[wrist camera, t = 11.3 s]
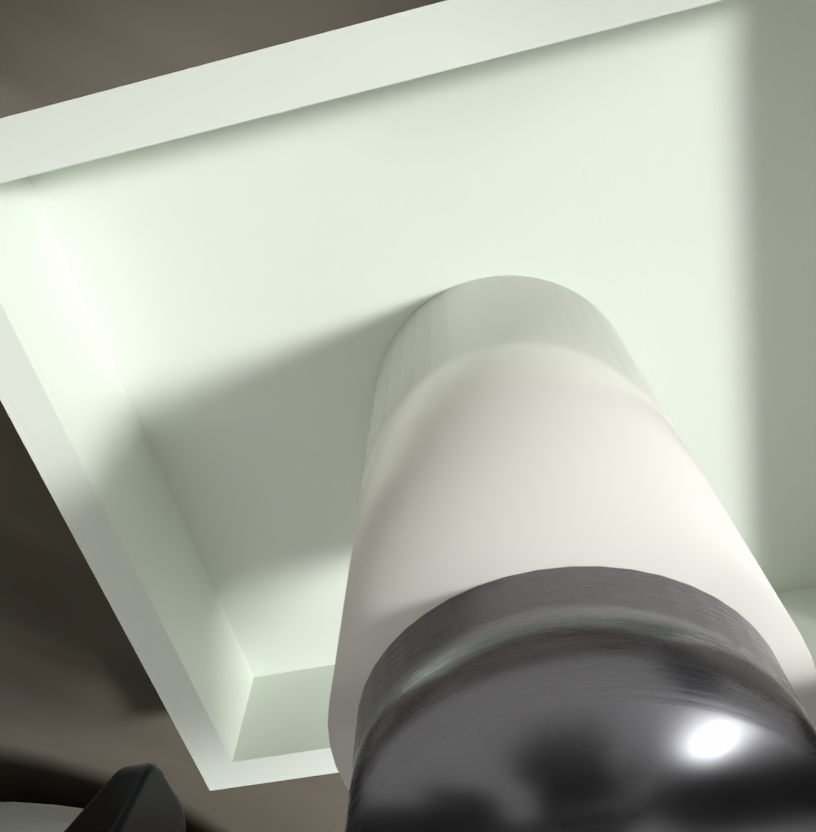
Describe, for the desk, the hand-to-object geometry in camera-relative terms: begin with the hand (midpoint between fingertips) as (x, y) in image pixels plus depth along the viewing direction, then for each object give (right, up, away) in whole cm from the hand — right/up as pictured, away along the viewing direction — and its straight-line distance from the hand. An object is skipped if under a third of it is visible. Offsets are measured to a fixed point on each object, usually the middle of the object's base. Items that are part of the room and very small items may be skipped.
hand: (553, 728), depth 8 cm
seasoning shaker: (0, +4, +7) cm, 8 cm away
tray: (0, +4, +7) cm, 8 cm away
